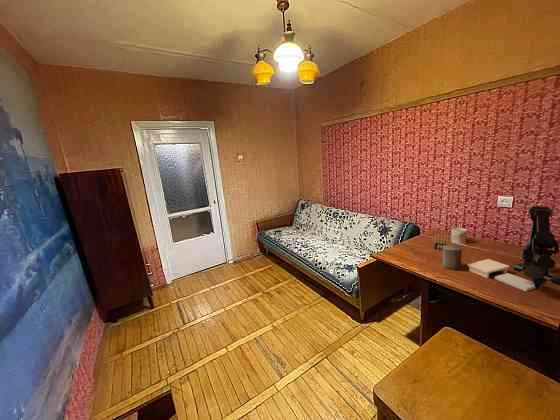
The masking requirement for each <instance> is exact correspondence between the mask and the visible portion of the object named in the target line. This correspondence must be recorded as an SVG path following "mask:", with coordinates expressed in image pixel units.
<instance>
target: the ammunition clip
mask: <svg viewBox="0 0 560 420" xmlns="http://www.w3.org/2000/svg"><path fill="white" fill-rule="evenodd" d="M444 245H453V243H452V240H451V234H450V235H447V236H446V234H444V235H443V234H441V235H440V234H435V237H434V248H433V250H437V249H439V251H443V246H444Z"/></svg>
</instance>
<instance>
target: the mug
mask: <svg viewBox="0 0 560 420" xmlns="http://www.w3.org/2000/svg"><path fill="white" fill-rule="evenodd" d="M450 231H451V232H450V235H451V240H452V244H455V243H456V244H455V245H466V244H467V232H468V229H467V228H464V227H463V228H462V227H452V228H451V230H450Z"/></svg>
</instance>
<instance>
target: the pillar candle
mask: <svg viewBox="0 0 560 420" xmlns="http://www.w3.org/2000/svg"><path fill="white" fill-rule="evenodd" d="M462 250H463V248H462V247H461V246H460V245H457V244H451V245H444V246H443V250H442V267H443V268H444V269H446V270H450V271H460V270H461V269H462V267H461V265H462V252H463V251H462Z"/></svg>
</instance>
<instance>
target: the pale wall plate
mask: <svg viewBox="0 0 560 420" xmlns="http://www.w3.org/2000/svg"><path fill="white" fill-rule="evenodd" d="M494 280H496V281H499V282H502V283H504V284H507V285H509V286H512V287H515V288H517V289H519V290H521V291H524V292H527V291H531V290H535V289H536V288H535V285H534V283H533V280H528V279H526V278H523V277H520V276H518V275H515V274H512V273H508V272H507V273H502V274H499V275H496V276H494Z"/></svg>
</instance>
